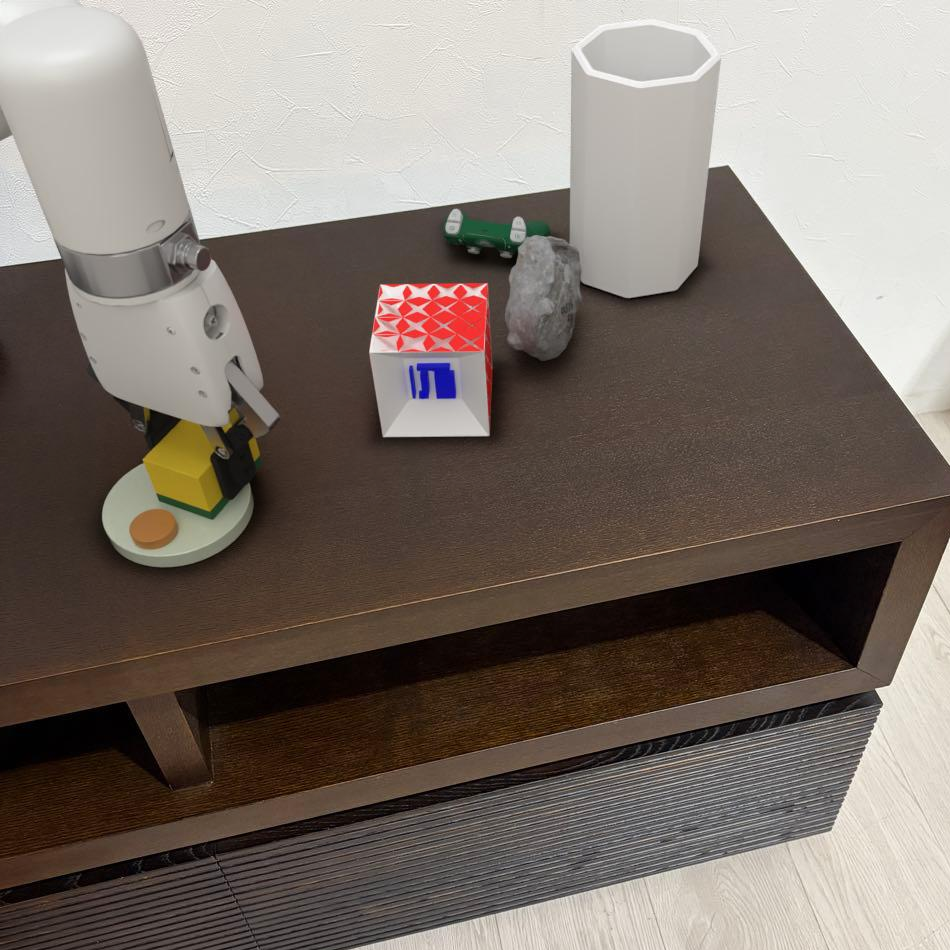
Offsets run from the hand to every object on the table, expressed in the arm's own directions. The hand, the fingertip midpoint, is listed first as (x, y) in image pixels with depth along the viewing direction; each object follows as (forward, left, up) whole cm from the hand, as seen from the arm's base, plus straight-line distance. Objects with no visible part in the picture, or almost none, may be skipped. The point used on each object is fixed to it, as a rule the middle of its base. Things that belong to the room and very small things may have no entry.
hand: (208, 473), depth 76 cm
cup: (+17, +38, -2) cm, 42 cm away
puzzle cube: (+10, +15, -2) cm, 18 cm away
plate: (-1, -2, -2) cm, 3 cm away
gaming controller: (+5, +35, -2) cm, 35 cm away
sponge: (0, 0, -1) cm, 1 cm away
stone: (+15, +24, -2) cm, 28 cm away
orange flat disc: (-1, -5, -1) cm, 6 cm away
